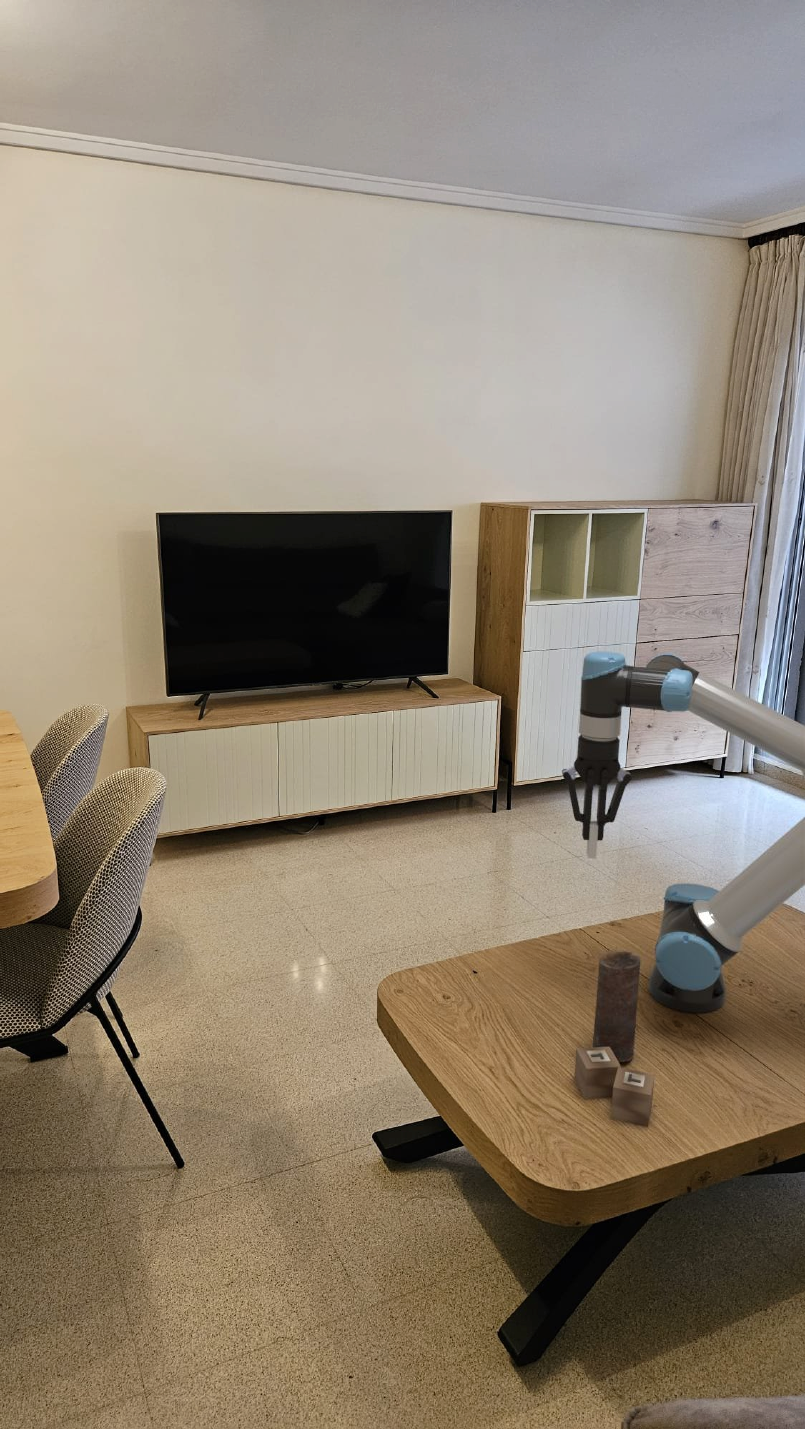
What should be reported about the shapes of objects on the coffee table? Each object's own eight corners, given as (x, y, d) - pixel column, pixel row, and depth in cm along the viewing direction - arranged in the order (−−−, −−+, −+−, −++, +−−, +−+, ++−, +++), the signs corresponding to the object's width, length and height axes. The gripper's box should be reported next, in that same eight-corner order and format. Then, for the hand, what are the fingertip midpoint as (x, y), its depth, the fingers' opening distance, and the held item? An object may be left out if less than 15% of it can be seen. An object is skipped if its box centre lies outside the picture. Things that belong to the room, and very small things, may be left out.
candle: (624, 1072, 174) (632, 970, 169) (585, 1059, 178) (592, 959, 173) (638, 1052, 181) (647, 952, 176) (600, 1040, 184) (607, 942, 180)
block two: (607, 1076, 173) (609, 1043, 172) (618, 1097, 167) (621, 1063, 166) (574, 1078, 172) (576, 1045, 171) (584, 1099, 167) (586, 1065, 165)
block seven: (651, 1105, 165) (654, 1071, 164) (648, 1127, 160) (651, 1092, 158) (615, 1097, 167) (618, 1064, 166) (610, 1119, 162) (613, 1084, 160)
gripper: (631, 731, 185) (623, 849, 190) (561, 729, 186) (555, 846, 191) (638, 742, 178) (628, 864, 183) (565, 740, 178) (558, 861, 184)
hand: (591, 855), depth 187 cm, fingers closed
